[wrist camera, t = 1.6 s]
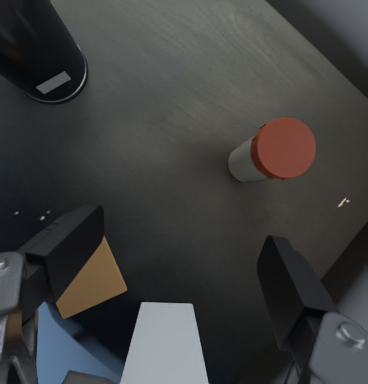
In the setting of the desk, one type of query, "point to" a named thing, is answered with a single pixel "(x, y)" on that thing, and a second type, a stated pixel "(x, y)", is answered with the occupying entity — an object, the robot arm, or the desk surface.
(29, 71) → the robot arm
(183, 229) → the desk surface
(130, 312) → the desk surface
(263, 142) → the lid
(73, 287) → the mat
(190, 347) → the milk carton
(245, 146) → the jar
